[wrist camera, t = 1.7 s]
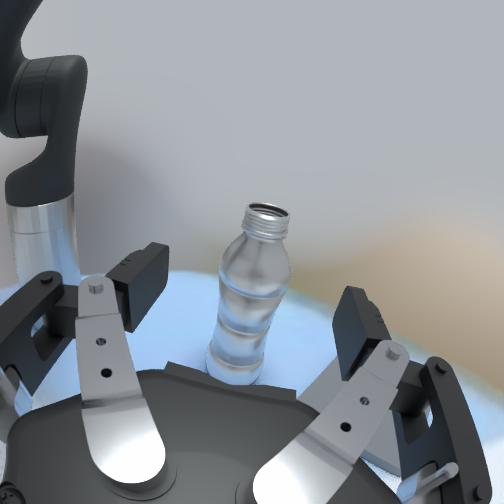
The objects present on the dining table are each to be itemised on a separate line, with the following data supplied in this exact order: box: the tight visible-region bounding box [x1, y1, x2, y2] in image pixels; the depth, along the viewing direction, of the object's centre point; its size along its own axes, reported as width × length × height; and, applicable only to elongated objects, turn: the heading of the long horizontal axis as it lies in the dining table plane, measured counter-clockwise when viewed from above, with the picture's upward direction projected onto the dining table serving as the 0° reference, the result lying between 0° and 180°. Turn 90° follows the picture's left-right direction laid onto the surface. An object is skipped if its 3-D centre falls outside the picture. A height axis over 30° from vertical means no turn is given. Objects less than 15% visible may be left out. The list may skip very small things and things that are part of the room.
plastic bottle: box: [206, 202, 291, 385], centre depth 26 cm, size 6×7×20 cm
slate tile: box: [296, 355, 430, 477], centre depth 27 cm, size 16×14×2 cm
